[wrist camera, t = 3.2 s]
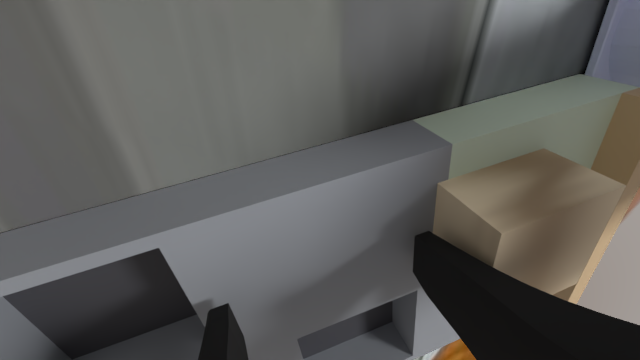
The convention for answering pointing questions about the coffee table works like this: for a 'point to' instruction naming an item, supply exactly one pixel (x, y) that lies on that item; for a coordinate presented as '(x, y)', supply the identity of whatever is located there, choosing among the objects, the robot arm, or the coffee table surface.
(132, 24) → the coffee table surface
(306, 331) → the board
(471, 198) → the maple block
